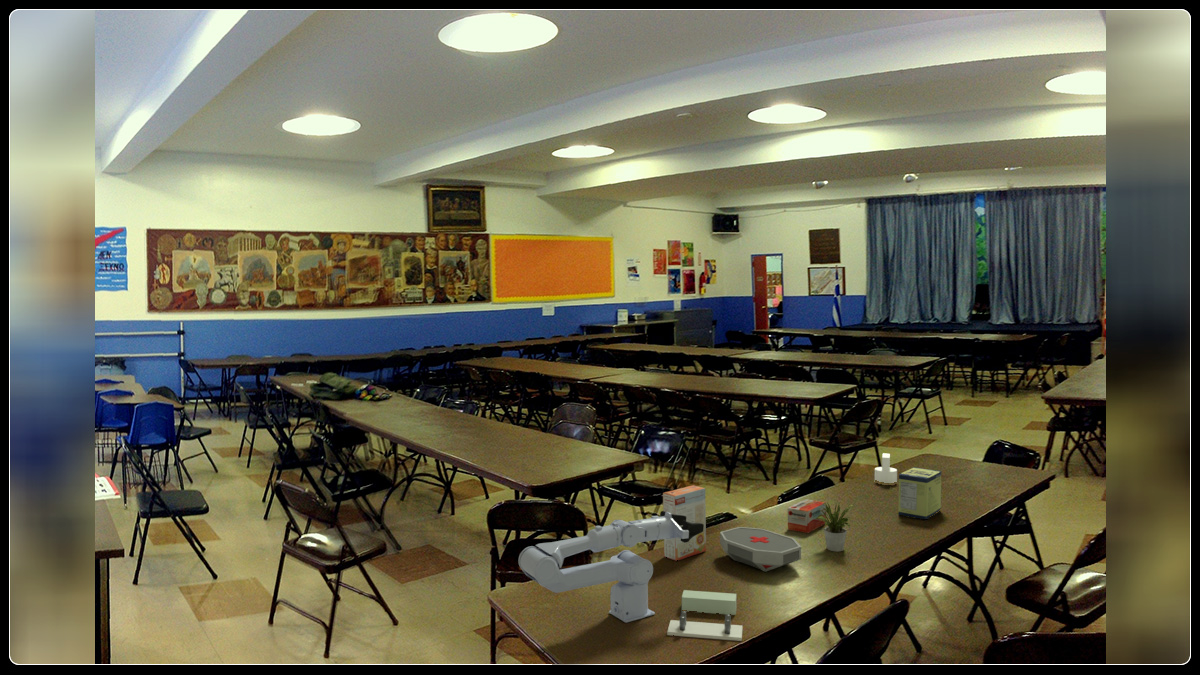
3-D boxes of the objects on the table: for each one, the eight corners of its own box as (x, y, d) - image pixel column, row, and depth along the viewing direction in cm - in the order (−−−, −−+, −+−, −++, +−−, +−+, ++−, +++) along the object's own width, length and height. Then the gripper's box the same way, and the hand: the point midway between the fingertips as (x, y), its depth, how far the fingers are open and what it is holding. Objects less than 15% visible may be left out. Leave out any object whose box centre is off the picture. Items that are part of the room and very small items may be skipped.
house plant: (804, 552, 254) (804, 502, 253) (812, 539, 267) (812, 491, 266) (850, 558, 248) (851, 507, 247) (856, 545, 261) (857, 496, 259)
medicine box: (805, 519, 290) (805, 498, 289) (826, 523, 285) (826, 501, 284) (786, 529, 278) (786, 507, 278) (808, 534, 273) (808, 511, 273)
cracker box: (693, 547, 260) (693, 484, 259) (706, 551, 256) (706, 487, 254) (662, 556, 251) (662, 491, 250) (676, 561, 247) (675, 495, 245)
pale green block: (681, 612, 210) (681, 597, 209) (683, 604, 215) (683, 590, 214) (735, 616, 207) (735, 601, 207) (736, 608, 212) (736, 593, 211)
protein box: (941, 511, 298) (942, 470, 297) (926, 521, 286) (927, 478, 285) (913, 506, 305) (913, 466, 304) (897, 515, 293) (898, 474, 292)
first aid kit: (710, 558, 250) (771, 581, 230) (710, 534, 250) (771, 555, 230) (748, 546, 261) (810, 568, 241) (748, 524, 260) (810, 543, 240)
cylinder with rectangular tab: (896, 486, 335) (897, 458, 335) (874, 484, 339) (874, 456, 338) (896, 481, 344) (897, 454, 343) (874, 479, 347) (875, 452, 346)
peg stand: (667, 634, 195) (667, 619, 195) (670, 623, 202) (670, 607, 202) (741, 640, 192) (741, 624, 191) (742, 628, 198) (742, 613, 198)
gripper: (670, 521, 204) (711, 516, 211) (638, 507, 216) (678, 502, 223) (668, 548, 204) (710, 542, 211) (637, 532, 217) (677, 527, 224)
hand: (694, 523), depth 217 cm, fingers open, 7 cm apart
